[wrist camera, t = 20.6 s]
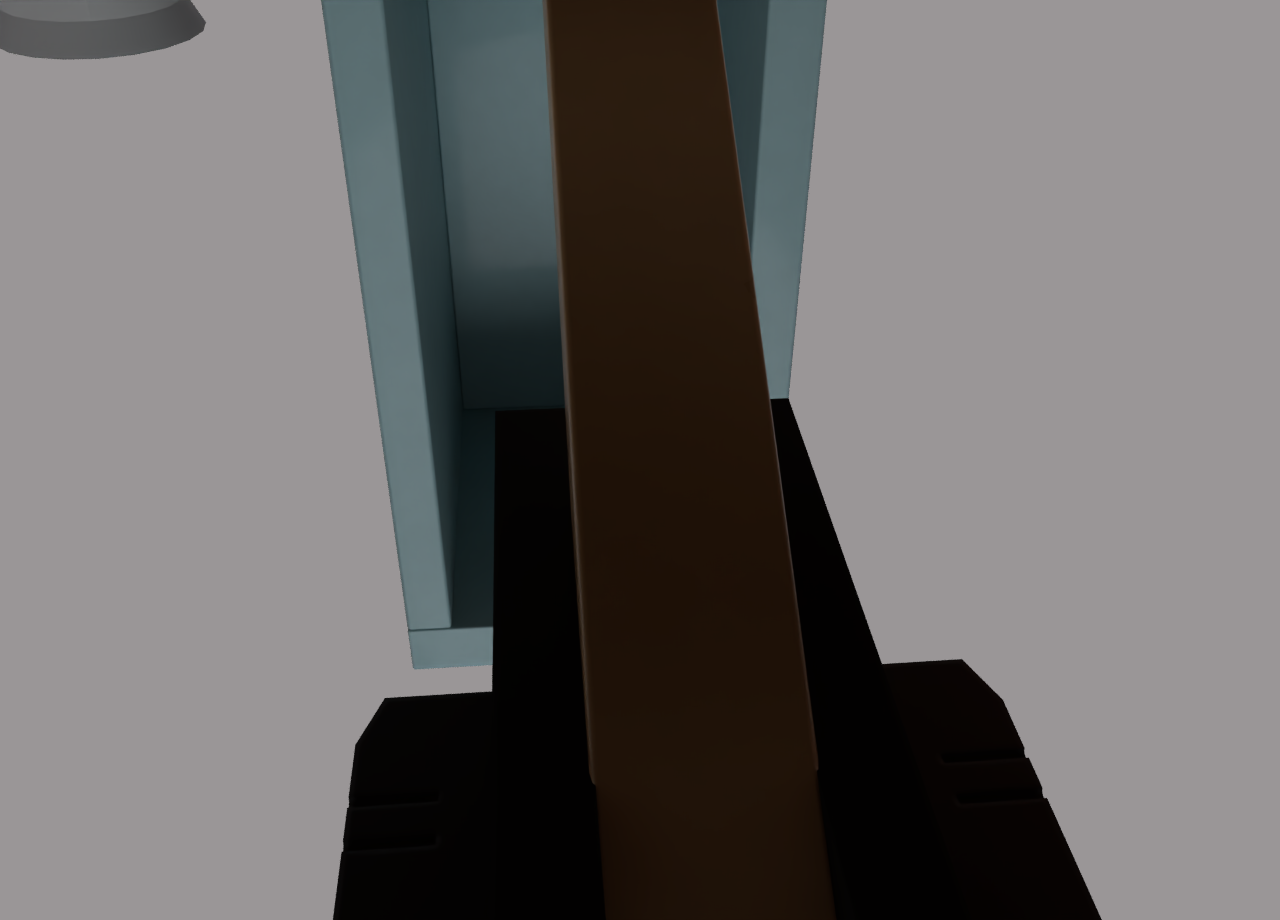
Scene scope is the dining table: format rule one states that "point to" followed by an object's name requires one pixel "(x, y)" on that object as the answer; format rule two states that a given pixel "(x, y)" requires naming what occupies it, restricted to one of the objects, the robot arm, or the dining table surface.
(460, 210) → the teal bin
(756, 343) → the tan disc-ended rod
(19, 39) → the chalice
